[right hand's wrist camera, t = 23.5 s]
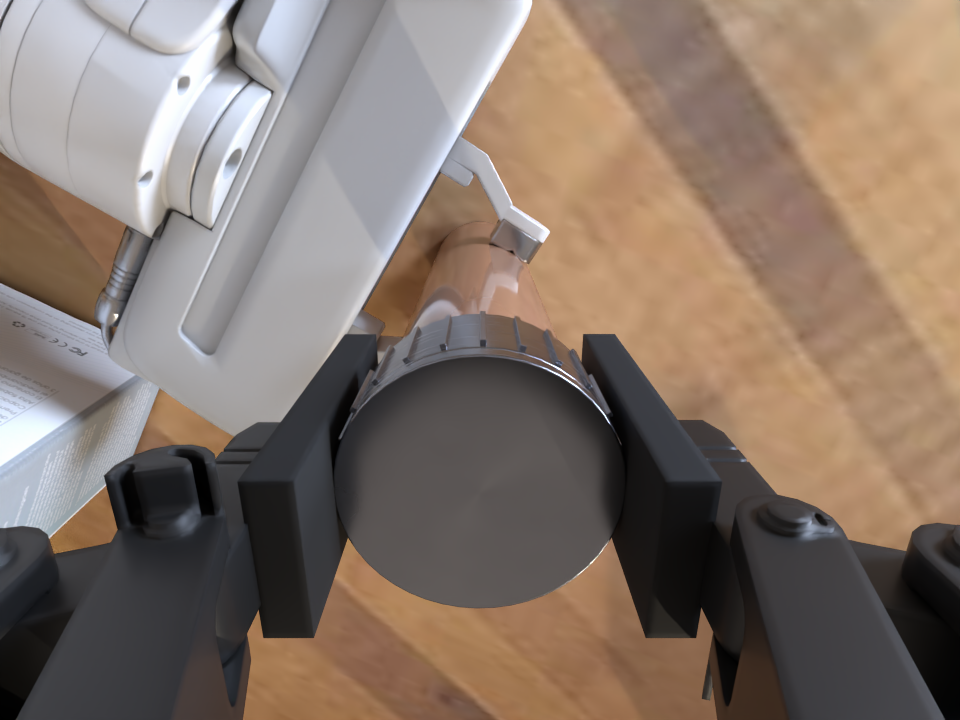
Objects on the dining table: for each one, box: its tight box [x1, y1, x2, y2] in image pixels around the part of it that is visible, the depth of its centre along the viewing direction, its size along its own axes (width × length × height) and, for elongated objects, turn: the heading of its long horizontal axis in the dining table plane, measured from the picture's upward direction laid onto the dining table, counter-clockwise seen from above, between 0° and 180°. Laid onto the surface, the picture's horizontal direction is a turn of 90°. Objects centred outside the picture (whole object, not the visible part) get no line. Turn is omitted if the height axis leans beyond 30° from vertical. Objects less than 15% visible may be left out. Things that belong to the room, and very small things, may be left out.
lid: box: [333, 311, 627, 608], centre depth 11 cm, size 5×5×2 cm
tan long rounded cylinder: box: [402, 222, 557, 339], centre depth 20 cm, size 4×4×20 cm
